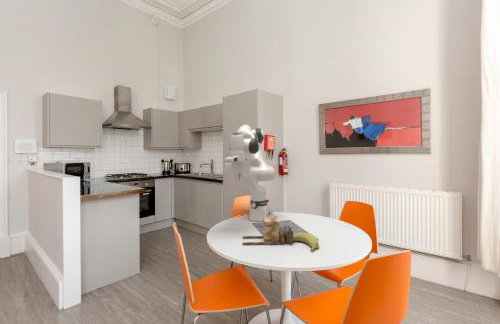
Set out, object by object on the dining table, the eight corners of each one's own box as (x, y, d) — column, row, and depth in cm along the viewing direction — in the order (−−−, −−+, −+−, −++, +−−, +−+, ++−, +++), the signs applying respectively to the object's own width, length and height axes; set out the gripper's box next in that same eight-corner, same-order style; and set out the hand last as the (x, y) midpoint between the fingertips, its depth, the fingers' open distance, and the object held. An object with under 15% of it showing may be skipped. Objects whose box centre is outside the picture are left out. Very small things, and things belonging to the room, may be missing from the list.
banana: (308, 226, 150) (322, 242, 130) (310, 235, 151) (324, 252, 131) (285, 233, 149) (296, 251, 129) (288, 242, 150) (298, 261, 130)
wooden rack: (242, 245, 140) (242, 228, 140) (242, 238, 152) (242, 221, 152) (294, 245, 140) (294, 227, 140) (290, 237, 153) (290, 221, 152)
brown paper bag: (264, 243, 143) (264, 221, 142) (263, 238, 151) (263, 218, 150) (279, 243, 143) (279, 221, 142) (277, 238, 151) (277, 217, 150)
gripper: (244, 158, 174) (244, 179, 174) (222, 158, 158) (223, 181, 158) (251, 158, 170) (252, 179, 170) (230, 158, 154) (231, 182, 154)
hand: (238, 180), depth 164 cm, fingers closed
